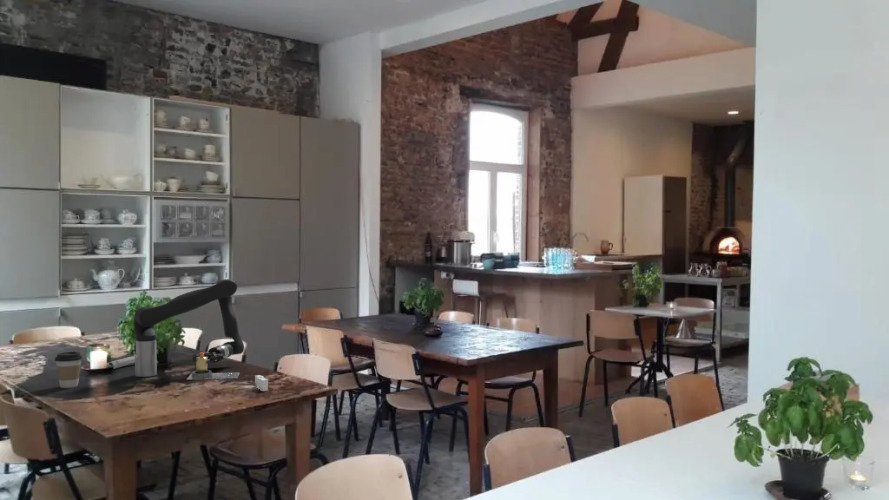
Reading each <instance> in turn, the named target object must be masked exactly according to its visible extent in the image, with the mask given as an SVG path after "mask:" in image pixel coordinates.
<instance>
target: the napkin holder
mask: <svg viewBox="0 0 889 500" xmlns="http://www.w3.org/2000/svg"><path fill="white" fill-rule="evenodd" d="M254 386H255V387H256V386H257V387H256V389H257V388H258V389H257V390H259V389H260V391H262V392H265V391H269V389H268V388H269V380H268V379H267V378H265V376H263V375H260V374H258V375H254Z"/></svg>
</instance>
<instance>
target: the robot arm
mask: <svg viewBox="0 0 889 500" xmlns="http://www.w3.org/2000/svg"><path fill="white" fill-rule="evenodd" d="M237 290H238V284H237V283H236V281H235V280H233V279H230V278H225V279H220V280H219V281H217V282H216V284H213V285H210V286H208V287H204V288H199V289H195V290H191V291H188V292H185V293H183V294H179V295H178V296H175V297H174V298H173V299H171V300H169V301H168V302H166V303H164V304H160V305H157V306H153V307H148V306H141V307H139V308H138V309H137V310H136V311H135V313H134V315H133V325H134V326H133V327H134V328H133V330H134V336H135V350H136V351H135V356H136V357H135V362H134V373H135V374H134V377H140V378H146V377H147V378H148V377H153V376H156V375H157V373H158V372H157V370H158V369H157V367H158V366H157V365H158V362H157V333H156V331H155V325H157V324H159V323H161V322H164V321H165V320H168V319H170V318H173V317H177V316H179V315H182V314H185V313H189V312H192V311H194V310H196V309H199V308H201V307H203V306H206V305H207V304H209V303H211V302H214V301H217V300H218V304H219V308H220V312H221V317H222V324H223V331H224V336H225V337H226V338H231V339H232V341H227V342H224V343H223V344H221V345H220V344H219V345H217V346H213V347H211V348H209V349H208V351H205V354H204V356H206V357H207V361H209V363H218V362H221V361H223V360H226V359H227V358H230V357H231V356H234V355H241V354H242V353H244V351H245V343H244V342H243V340H242V338H241V335H240V332H239V326H238V320H237V316H236V314H235V311H234V307H233V306H232V298H231V297H232V296H234V295H235V293H236V292H237ZM199 353H200V352H198V353H195V354H193V357H192V361H193V362H196V357H200V355H199Z"/></svg>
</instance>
